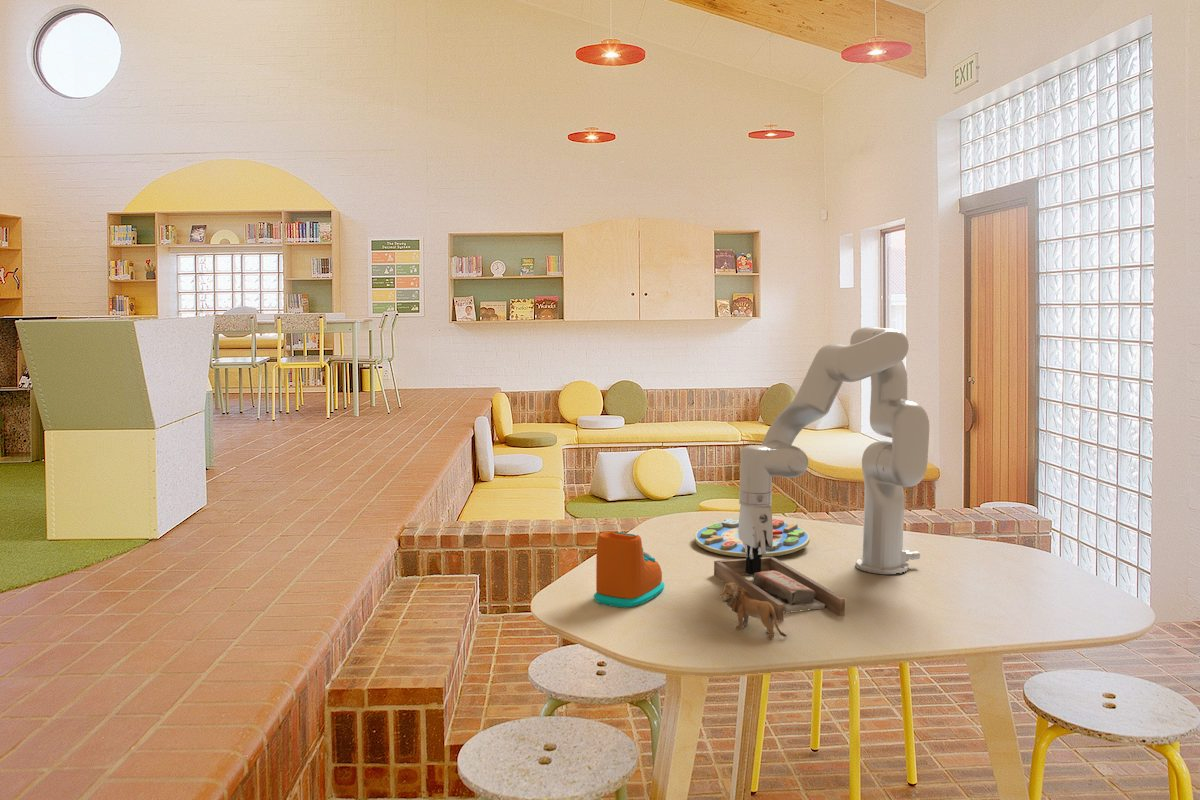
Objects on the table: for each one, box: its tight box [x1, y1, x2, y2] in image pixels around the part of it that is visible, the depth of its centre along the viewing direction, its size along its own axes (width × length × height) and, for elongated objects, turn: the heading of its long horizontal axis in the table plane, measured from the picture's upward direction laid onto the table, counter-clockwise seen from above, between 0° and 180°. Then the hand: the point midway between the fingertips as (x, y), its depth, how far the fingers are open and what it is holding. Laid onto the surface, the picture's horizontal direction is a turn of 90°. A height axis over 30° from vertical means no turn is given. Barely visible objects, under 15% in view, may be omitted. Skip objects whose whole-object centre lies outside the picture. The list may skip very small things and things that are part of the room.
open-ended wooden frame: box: [713, 556, 846, 622], centre depth 225 cm, size 15×35×4 cm, turn 16°
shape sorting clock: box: [694, 518, 811, 558], centre depth 268 cm, size 31×30×6 cm
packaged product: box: [752, 570, 826, 613], centre depth 221 cm, size 18×5×10 cm
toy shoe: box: [593, 530, 665, 608], centre depth 223 cm, size 12×20×15 cm, turn 150°
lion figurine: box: [720, 582, 787, 640], centre depth 200 cm, size 15×5×9 cm, turn 51°
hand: (753, 573), depth 236 cm, fingers closed
